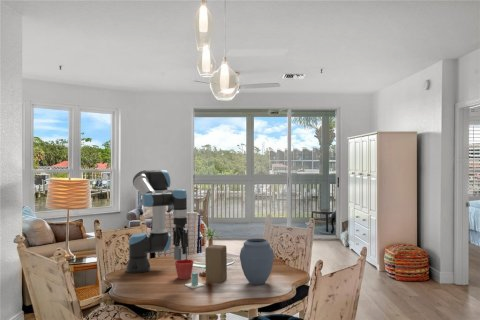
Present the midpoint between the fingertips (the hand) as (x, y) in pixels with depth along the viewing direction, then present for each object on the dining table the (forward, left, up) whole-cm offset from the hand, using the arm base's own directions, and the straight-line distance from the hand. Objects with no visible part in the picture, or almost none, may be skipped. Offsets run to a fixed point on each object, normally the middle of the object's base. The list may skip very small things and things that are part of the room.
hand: (180, 258), depth 233 cm
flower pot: (-15, +12, -16) cm, 25 cm away
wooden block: (+4, +22, -16) cm, 27 cm away
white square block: (+4, +7, -15) cm, 17 cm away
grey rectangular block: (0, 0, 0) cm, 0 cm away
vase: (+24, +36, -16) cm, 46 cm away
